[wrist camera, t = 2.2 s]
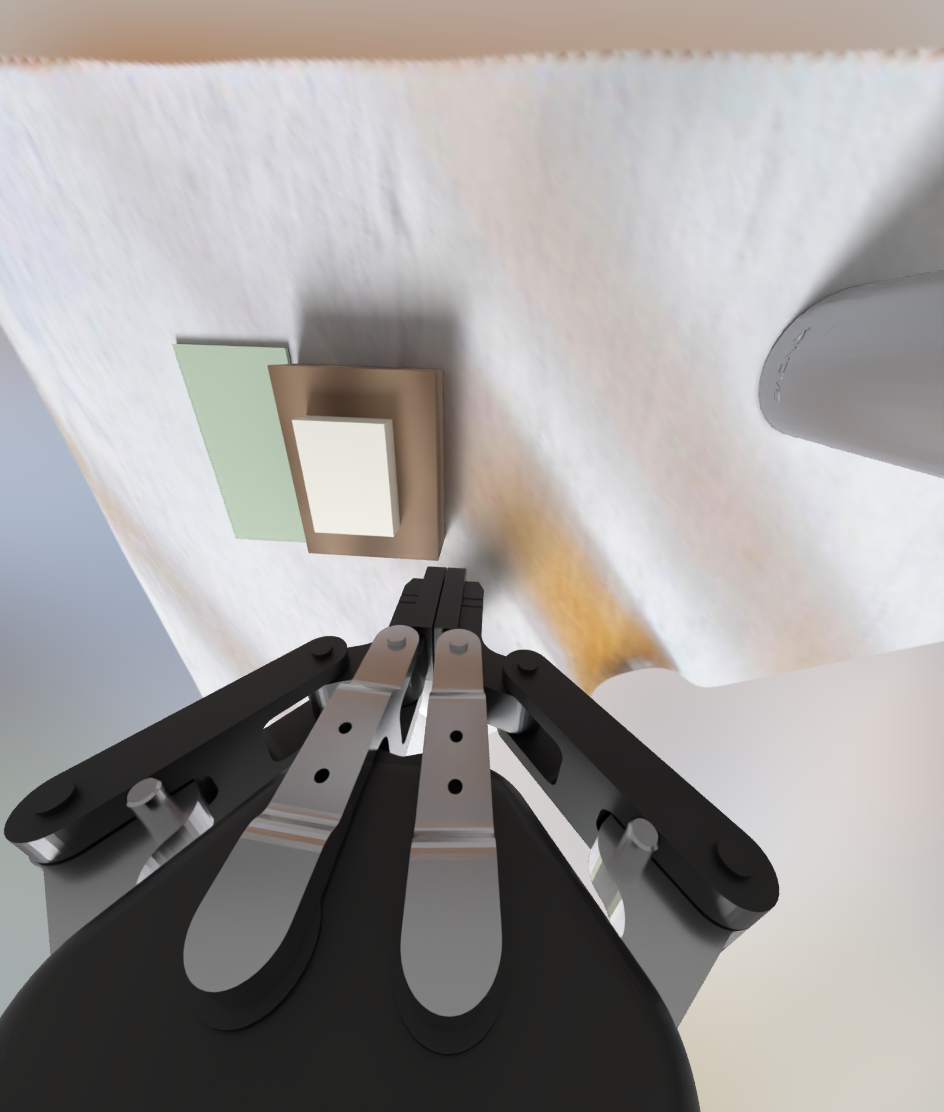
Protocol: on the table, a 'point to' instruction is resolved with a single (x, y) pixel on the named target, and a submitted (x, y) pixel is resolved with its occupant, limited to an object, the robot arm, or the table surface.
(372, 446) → the white flat block
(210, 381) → the mat
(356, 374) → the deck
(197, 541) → the table surface
